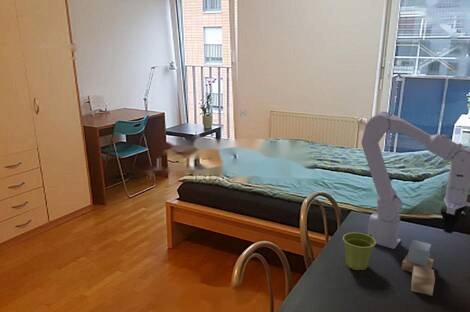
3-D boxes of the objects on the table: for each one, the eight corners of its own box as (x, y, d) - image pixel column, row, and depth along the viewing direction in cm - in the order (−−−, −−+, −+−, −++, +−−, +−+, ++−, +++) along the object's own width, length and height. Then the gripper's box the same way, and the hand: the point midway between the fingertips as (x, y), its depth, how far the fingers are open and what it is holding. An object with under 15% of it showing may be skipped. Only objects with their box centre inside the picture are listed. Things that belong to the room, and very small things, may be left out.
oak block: (401, 270, 113) (402, 261, 112) (407, 260, 118) (408, 252, 117) (426, 278, 109) (428, 269, 108) (432, 268, 114) (433, 259, 113)
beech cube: (411, 291, 102) (414, 275, 101) (411, 281, 107) (413, 265, 106) (432, 295, 100) (435, 279, 99) (430, 285, 105) (433, 269, 104)
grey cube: (407, 261, 112) (409, 246, 111) (410, 254, 116) (413, 239, 115) (425, 266, 109) (428, 251, 108) (428, 259, 113) (431, 244, 112)
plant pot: (334, 265, 114) (337, 239, 112) (349, 254, 121) (351, 229, 118) (364, 278, 108) (367, 250, 106) (377, 265, 115) (381, 239, 112)
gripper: (469, 196, 106) (461, 240, 109) (476, 183, 117) (468, 223, 121) (441, 191, 110) (434, 233, 114) (450, 178, 121) (443, 217, 125)
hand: (450, 228), depth 117 cm, fingers open, 7 cm apart
